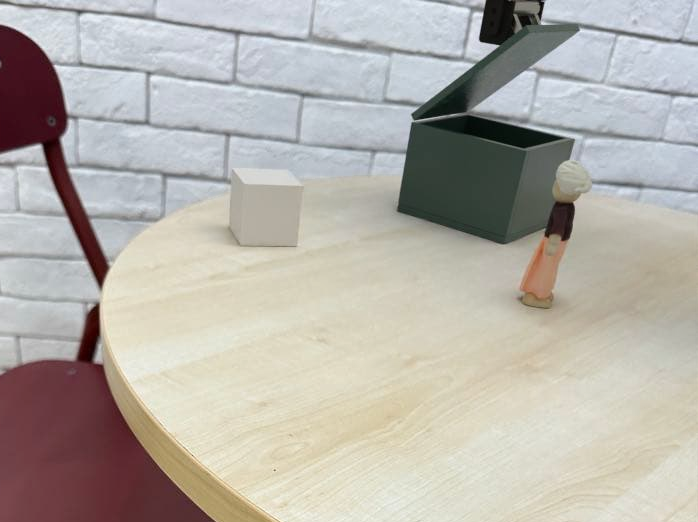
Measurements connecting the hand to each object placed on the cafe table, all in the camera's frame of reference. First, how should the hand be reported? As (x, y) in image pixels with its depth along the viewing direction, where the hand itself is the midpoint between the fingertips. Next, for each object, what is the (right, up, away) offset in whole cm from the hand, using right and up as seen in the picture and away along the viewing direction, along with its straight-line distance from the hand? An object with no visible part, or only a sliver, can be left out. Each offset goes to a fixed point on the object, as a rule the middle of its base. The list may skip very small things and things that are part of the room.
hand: (507, 41), depth 92 cm
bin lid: (-1, -3, +2) cm, 4 cm away
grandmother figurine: (0, -31, -11) cm, 33 cm away
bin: (-1, -15, +11) cm, 19 cm away
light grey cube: (-27, -23, -3) cm, 35 cm away
